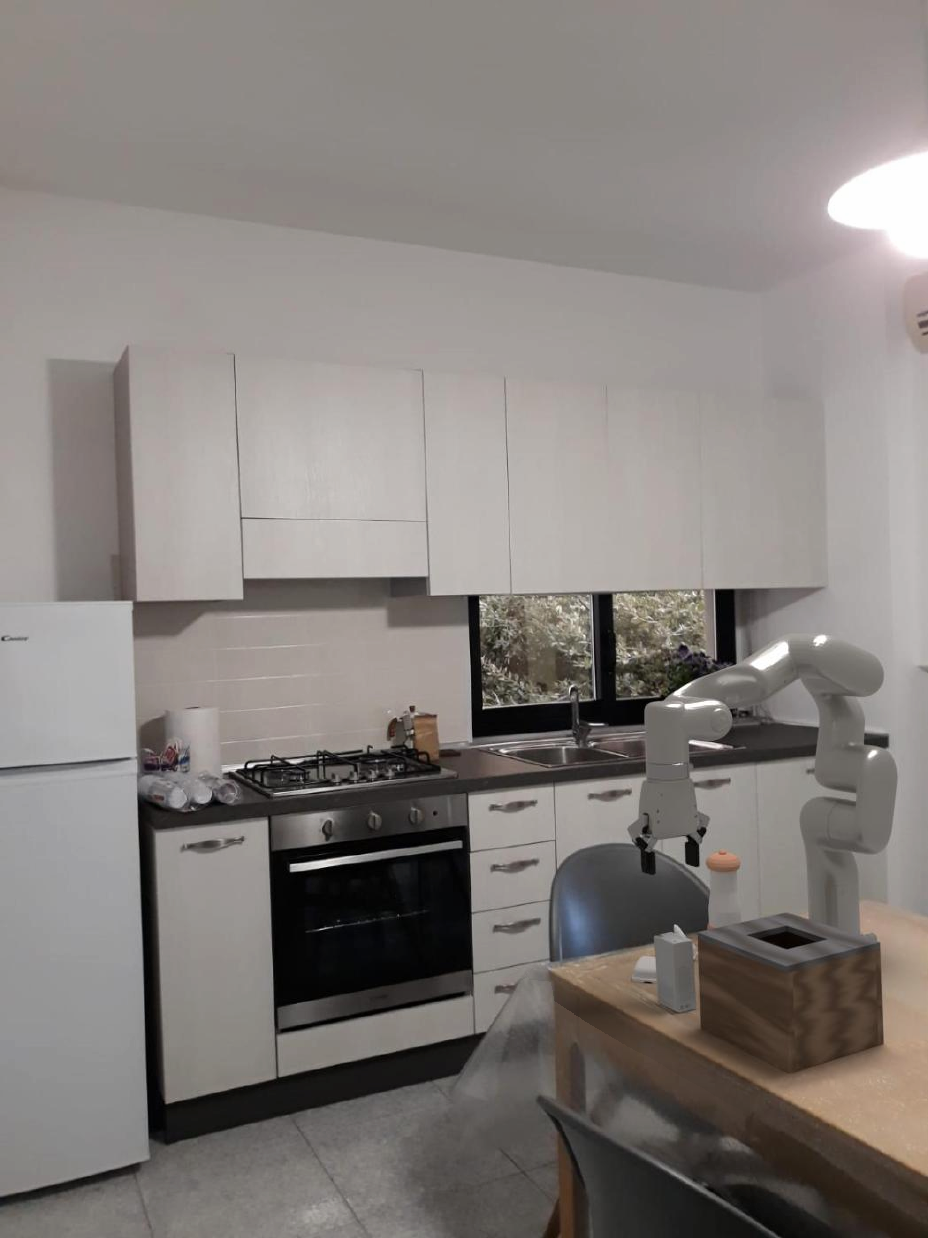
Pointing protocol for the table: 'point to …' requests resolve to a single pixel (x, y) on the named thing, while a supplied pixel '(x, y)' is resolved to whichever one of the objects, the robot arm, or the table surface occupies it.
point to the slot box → (791, 989)
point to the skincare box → (675, 972)
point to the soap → (645, 970)
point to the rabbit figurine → (679, 932)
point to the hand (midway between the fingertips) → (670, 869)
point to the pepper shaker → (723, 890)
